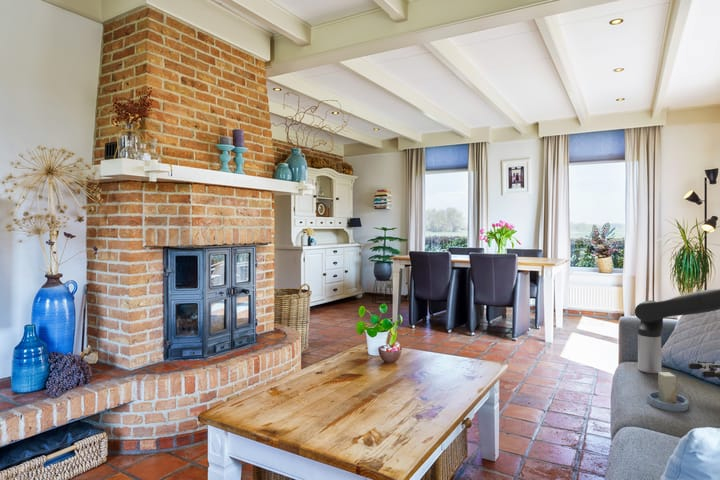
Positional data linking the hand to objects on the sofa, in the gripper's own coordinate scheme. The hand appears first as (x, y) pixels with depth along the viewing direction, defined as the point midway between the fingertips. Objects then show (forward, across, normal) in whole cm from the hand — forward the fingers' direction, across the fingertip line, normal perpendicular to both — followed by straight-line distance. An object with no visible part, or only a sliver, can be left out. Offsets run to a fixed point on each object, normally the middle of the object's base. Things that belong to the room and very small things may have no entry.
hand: (695, 369), depth 170 cm
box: (+11, +2, +12) cm, 17 cm away
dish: (+11, +3, +13) cm, 18 cm away
